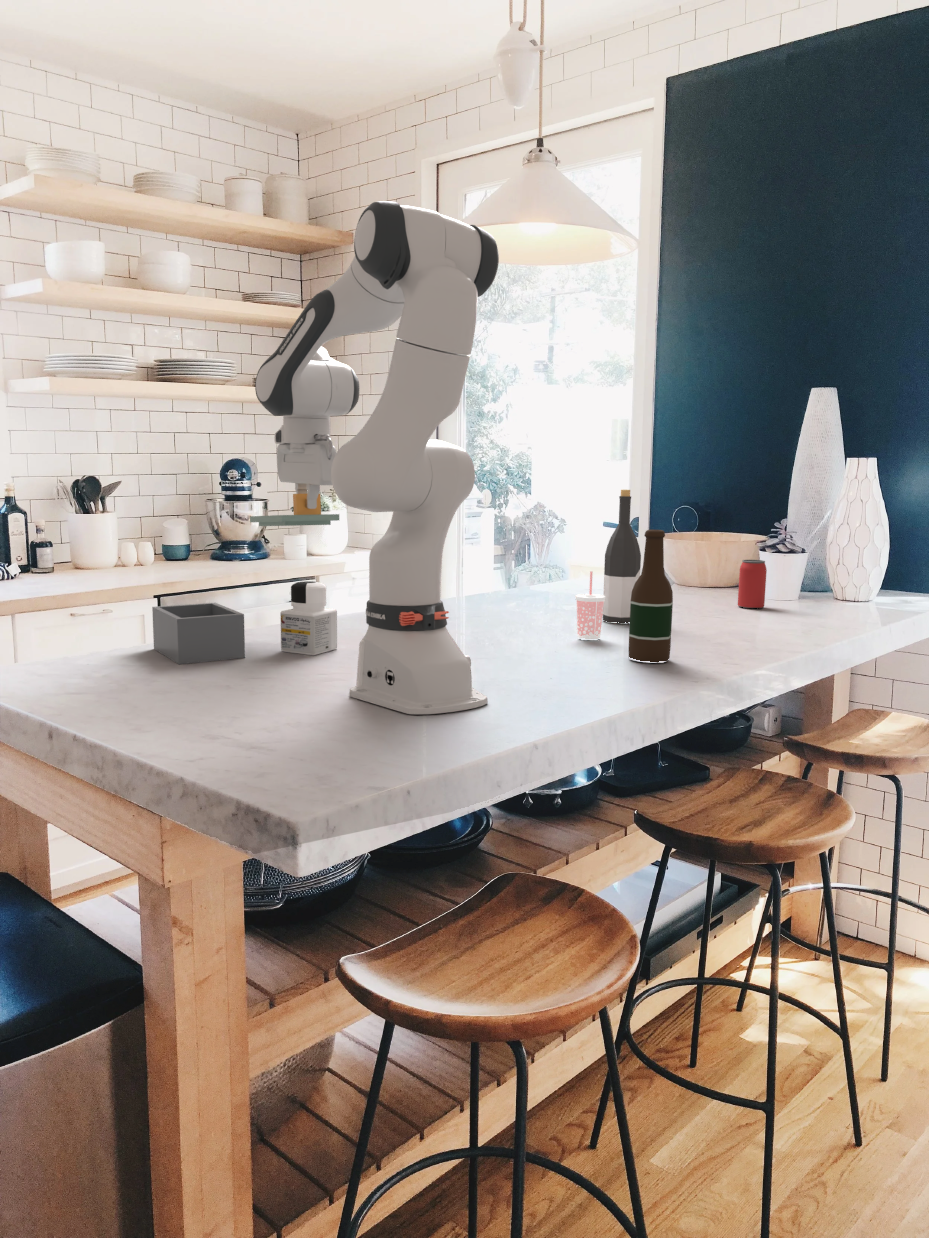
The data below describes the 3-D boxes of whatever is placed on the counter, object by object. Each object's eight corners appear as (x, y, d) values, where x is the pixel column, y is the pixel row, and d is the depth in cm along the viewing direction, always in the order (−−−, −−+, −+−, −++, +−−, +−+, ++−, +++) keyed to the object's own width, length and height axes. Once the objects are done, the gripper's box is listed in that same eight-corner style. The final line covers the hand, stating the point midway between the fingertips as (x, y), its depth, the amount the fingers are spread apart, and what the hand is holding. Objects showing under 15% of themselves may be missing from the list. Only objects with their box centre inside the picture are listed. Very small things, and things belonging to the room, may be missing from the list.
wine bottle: (602, 618, 225) (607, 488, 221) (637, 619, 224) (643, 489, 220) (602, 623, 218) (607, 489, 213) (638, 624, 216) (644, 490, 212)
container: (280, 651, 180) (279, 582, 178) (305, 645, 187) (304, 578, 185) (313, 656, 177) (312, 585, 175) (338, 649, 184) (337, 581, 182)
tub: (244, 657, 174) (243, 614, 173) (178, 664, 168) (177, 619, 167) (216, 643, 188) (215, 602, 186) (153, 648, 181) (152, 606, 180)
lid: (339, 524, 187) (338, 493, 186) (281, 525, 180) (280, 493, 180) (305, 525, 200) (304, 496, 199) (250, 526, 193) (249, 496, 193)
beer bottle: (619, 659, 178) (624, 529, 174) (642, 654, 183) (648, 527, 179) (655, 666, 172) (662, 532, 168) (678, 660, 178) (685, 530, 174)
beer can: (738, 608, 243) (741, 561, 241) (736, 605, 250) (738, 559, 248) (765, 609, 242) (769, 562, 240) (762, 606, 248) (765, 559, 247)
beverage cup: (595, 635, 202) (598, 569, 200) (609, 641, 196) (611, 572, 194) (569, 637, 200) (571, 570, 198) (581, 642, 194) (584, 573, 192)
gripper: (346, 434, 175) (346, 511, 178) (300, 435, 192) (301, 505, 194) (314, 433, 172) (315, 511, 174) (270, 434, 189) (271, 505, 191)
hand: (307, 508), depth 184 cm, fingers closed on lid
